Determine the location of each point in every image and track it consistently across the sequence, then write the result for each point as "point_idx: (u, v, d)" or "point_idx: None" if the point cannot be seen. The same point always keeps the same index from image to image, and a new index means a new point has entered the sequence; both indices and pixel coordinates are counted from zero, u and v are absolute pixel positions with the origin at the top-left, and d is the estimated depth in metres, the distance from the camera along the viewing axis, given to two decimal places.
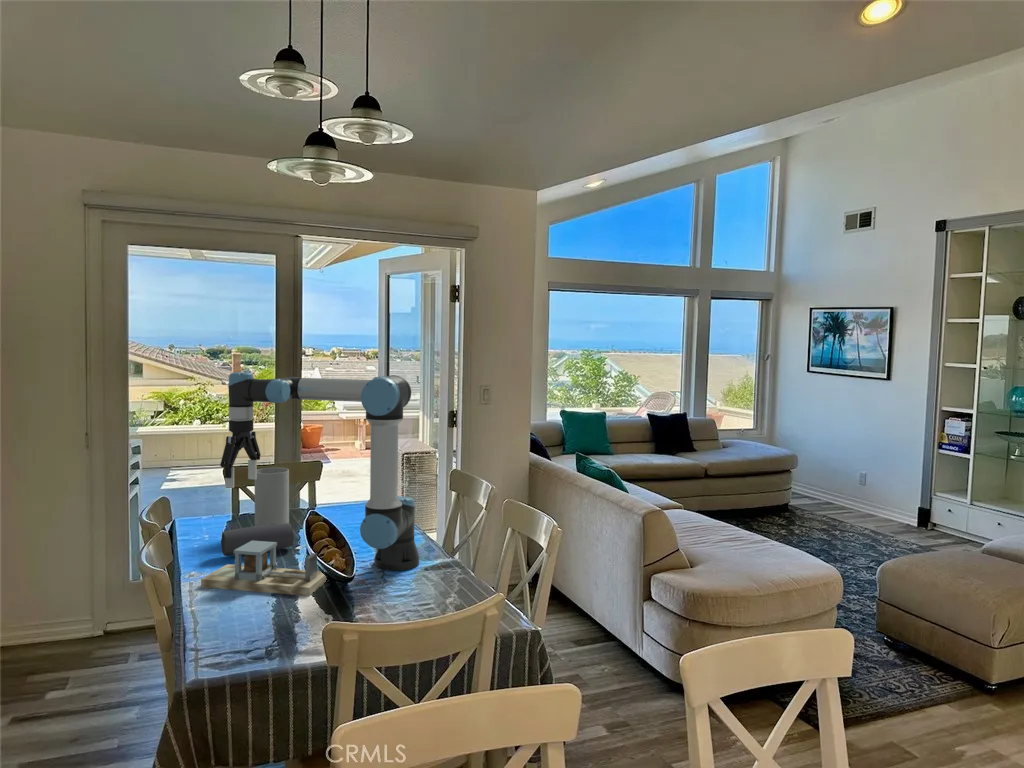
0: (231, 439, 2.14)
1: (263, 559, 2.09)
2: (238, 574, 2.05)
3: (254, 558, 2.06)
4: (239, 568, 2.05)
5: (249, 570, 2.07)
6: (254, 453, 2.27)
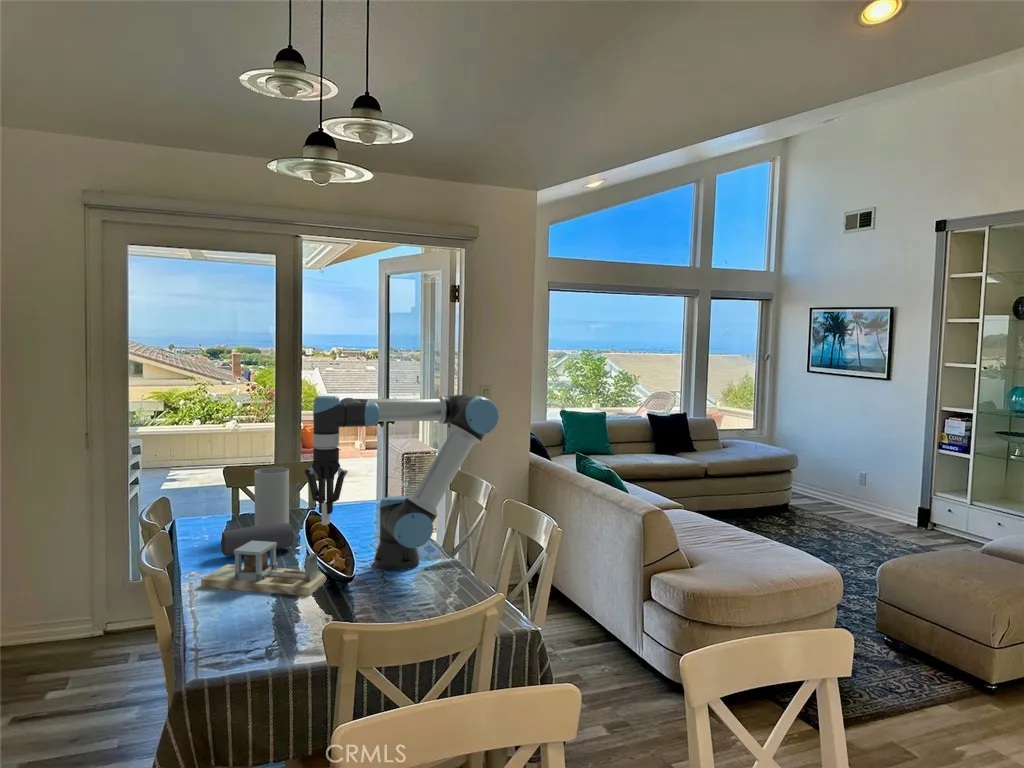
0: None
1: (263, 559, 2.09)
2: (238, 574, 2.05)
3: (254, 558, 2.06)
4: (239, 568, 2.05)
5: (249, 570, 2.07)
6: (328, 493, 2.03)
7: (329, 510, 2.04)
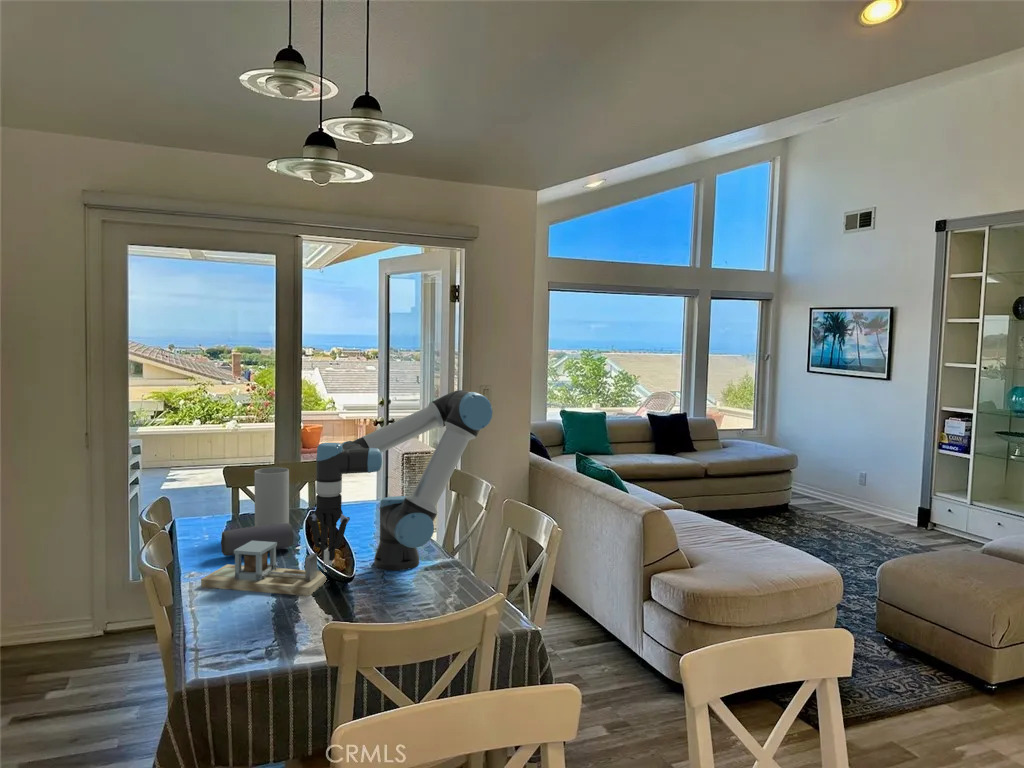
0: None
1: (263, 559, 2.09)
2: (238, 574, 2.05)
3: (254, 558, 2.06)
4: (239, 568, 2.05)
5: (249, 570, 2.07)
6: (330, 540, 2.04)
7: (331, 557, 2.04)
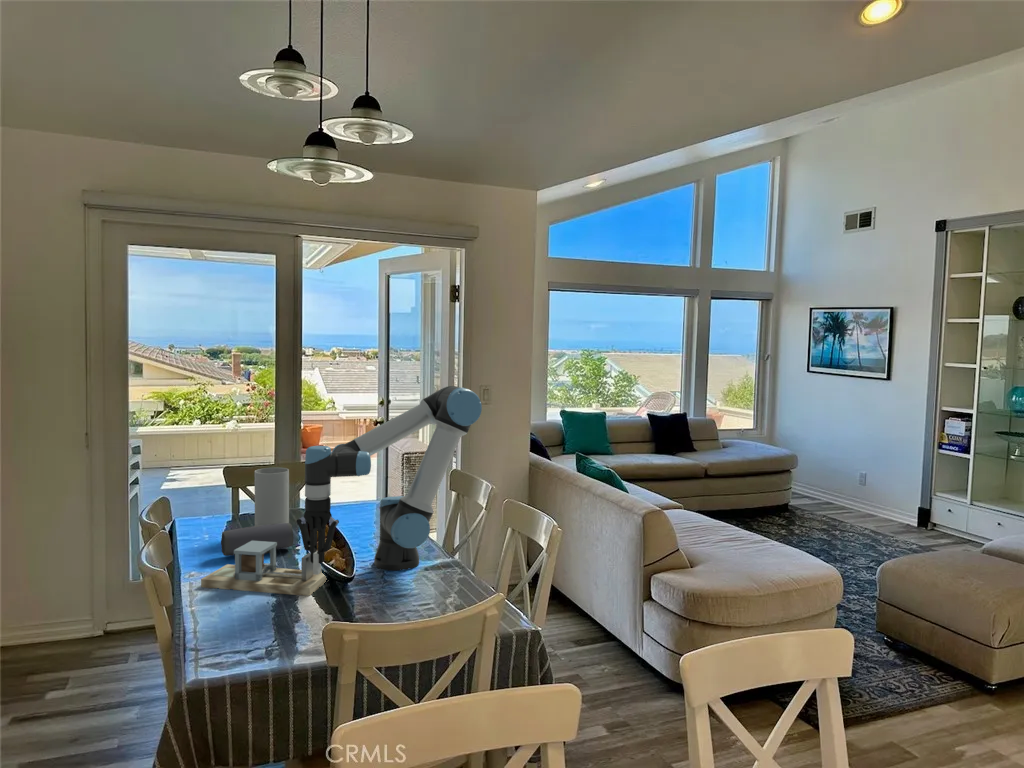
0: None
1: None
2: (238, 574, 2.05)
3: (250, 558, 2.07)
4: (239, 568, 2.05)
5: (245, 570, 2.07)
6: (319, 543, 2.04)
7: (321, 559, 2.05)
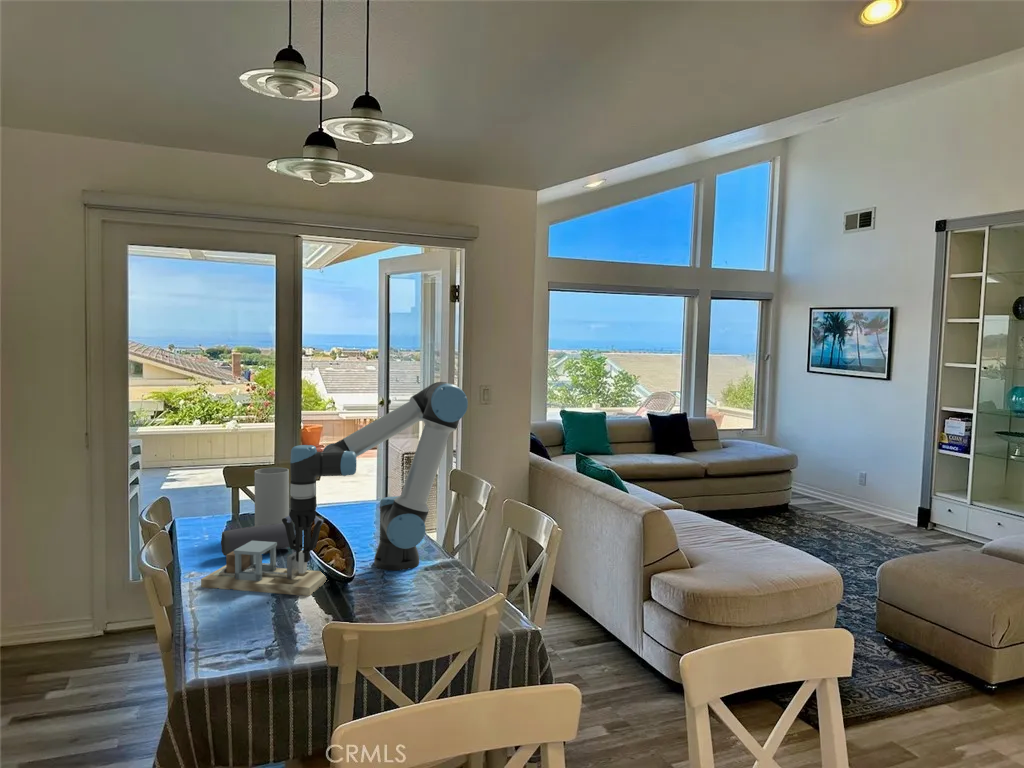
0: None
1: (245, 557, 2.10)
2: (238, 574, 2.05)
3: None
4: (239, 568, 2.05)
5: (231, 569, 2.08)
6: (305, 542, 2.05)
7: (306, 558, 2.06)
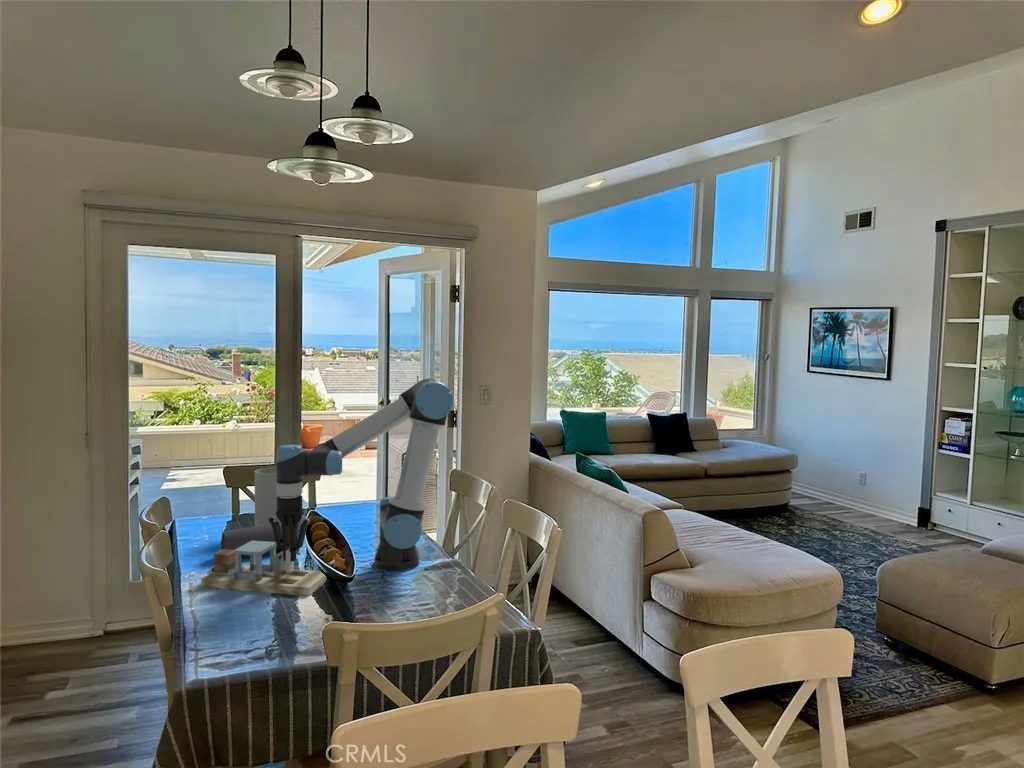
0: None
1: (232, 556, 2.10)
2: (238, 574, 2.05)
3: (224, 556, 2.08)
4: (239, 568, 2.05)
5: (219, 568, 2.08)
6: (291, 541, 2.06)
7: (293, 557, 2.06)
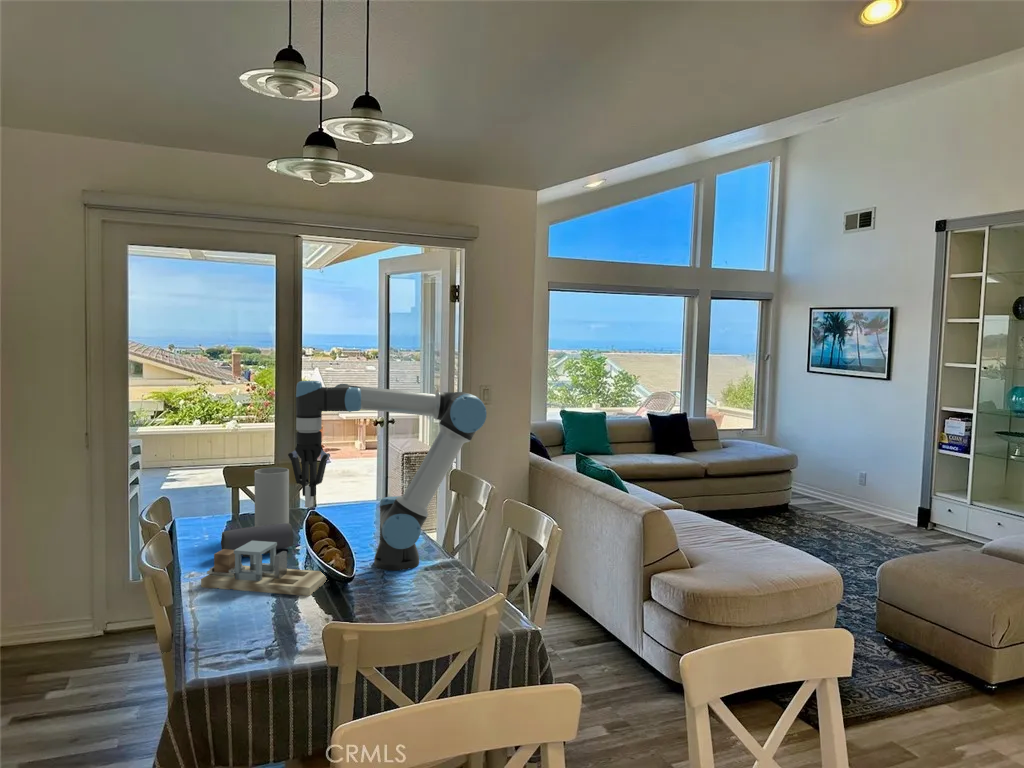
0: None
1: (233, 556, 2.10)
2: (238, 574, 2.05)
3: (224, 556, 2.08)
4: (239, 568, 2.05)
5: (219, 568, 2.08)
6: (311, 476, 2.07)
7: (312, 493, 2.08)
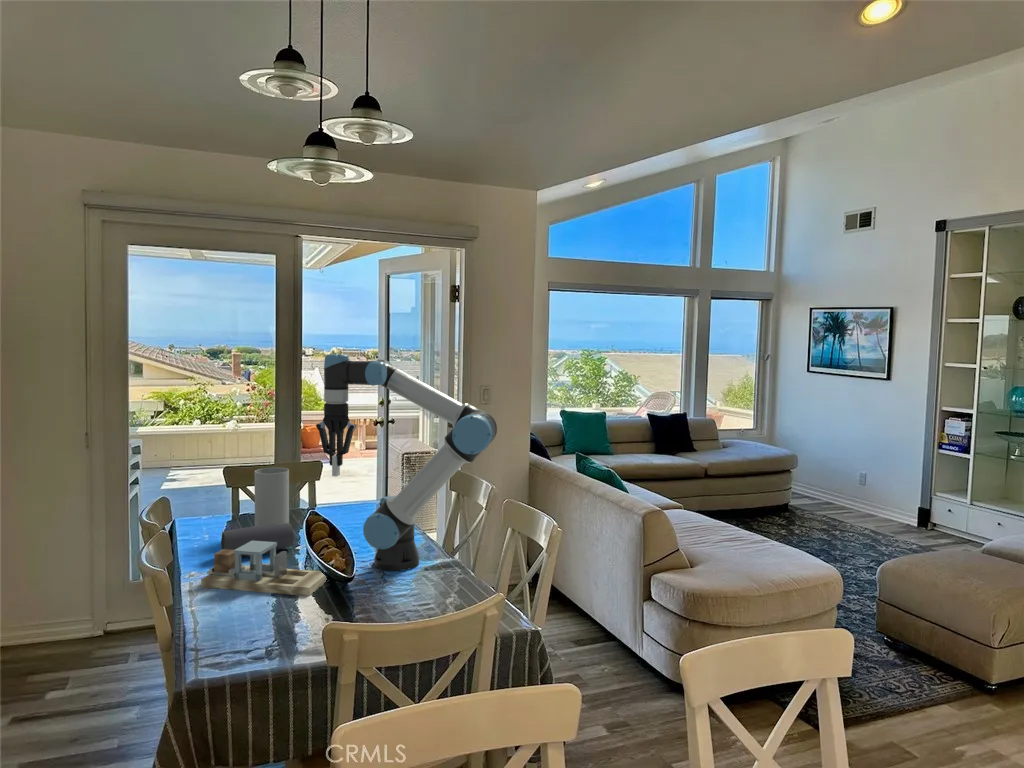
0: None
1: (233, 556, 2.10)
2: (238, 574, 2.05)
3: (224, 556, 2.08)
4: (239, 568, 2.05)
5: (219, 568, 2.08)
6: (338, 446, 2.14)
7: (339, 462, 2.15)
